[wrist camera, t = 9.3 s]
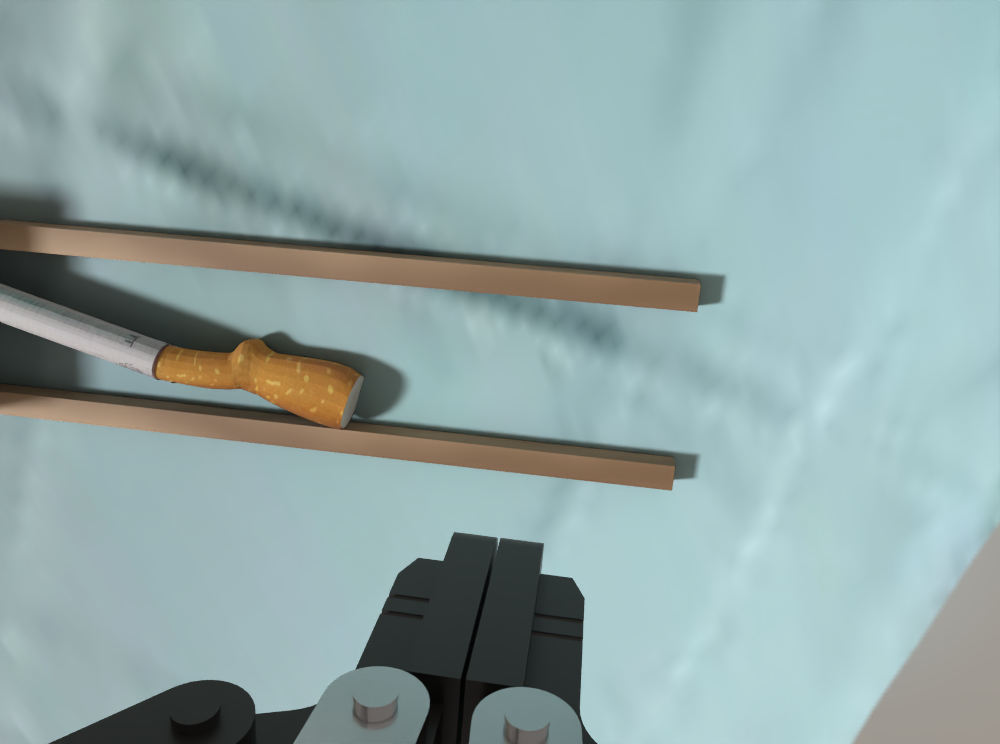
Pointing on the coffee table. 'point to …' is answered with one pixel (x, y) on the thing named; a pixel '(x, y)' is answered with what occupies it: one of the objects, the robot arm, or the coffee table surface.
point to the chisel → (196, 360)
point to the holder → (363, 269)
